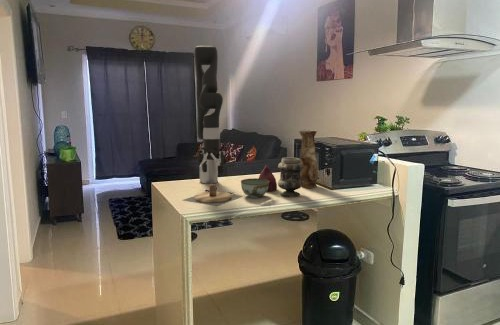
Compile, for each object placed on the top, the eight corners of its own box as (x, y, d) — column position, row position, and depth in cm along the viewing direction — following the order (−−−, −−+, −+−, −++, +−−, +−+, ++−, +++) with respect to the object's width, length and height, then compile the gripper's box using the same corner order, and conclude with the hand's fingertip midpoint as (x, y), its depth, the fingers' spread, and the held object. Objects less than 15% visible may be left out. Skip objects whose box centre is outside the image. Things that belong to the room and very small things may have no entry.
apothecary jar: (303, 192, 190) (304, 156, 188) (301, 198, 179) (301, 160, 176) (279, 191, 193) (279, 156, 190) (275, 197, 182) (275, 159, 179)
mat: (182, 201, 175) (182, 200, 175) (208, 192, 192) (208, 191, 192) (217, 207, 164) (217, 206, 164) (242, 197, 181) (242, 196, 181)
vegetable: (274, 198, 192) (277, 171, 186) (254, 194, 194) (256, 168, 188) (278, 188, 202) (281, 163, 195) (258, 185, 203) (261, 159, 197)
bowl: (234, 198, 180) (234, 181, 178) (251, 192, 191) (251, 177, 189) (259, 202, 172) (259, 185, 171) (274, 196, 183) (274, 180, 182)
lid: (186, 199, 175) (186, 186, 174) (209, 192, 189) (209, 180, 188) (216, 204, 166) (216, 190, 165) (238, 196, 181) (238, 183, 180)
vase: (318, 188, 199) (319, 130, 194) (297, 188, 200) (298, 130, 195) (317, 184, 209) (318, 129, 204) (297, 184, 210) (298, 129, 205)
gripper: (194, 137, 174) (195, 172, 176) (219, 138, 167) (220, 175, 169) (204, 136, 180) (205, 170, 183) (229, 137, 173) (229, 173, 175)
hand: (212, 172), depth 176 cm, fingers open, 8 cm apart
